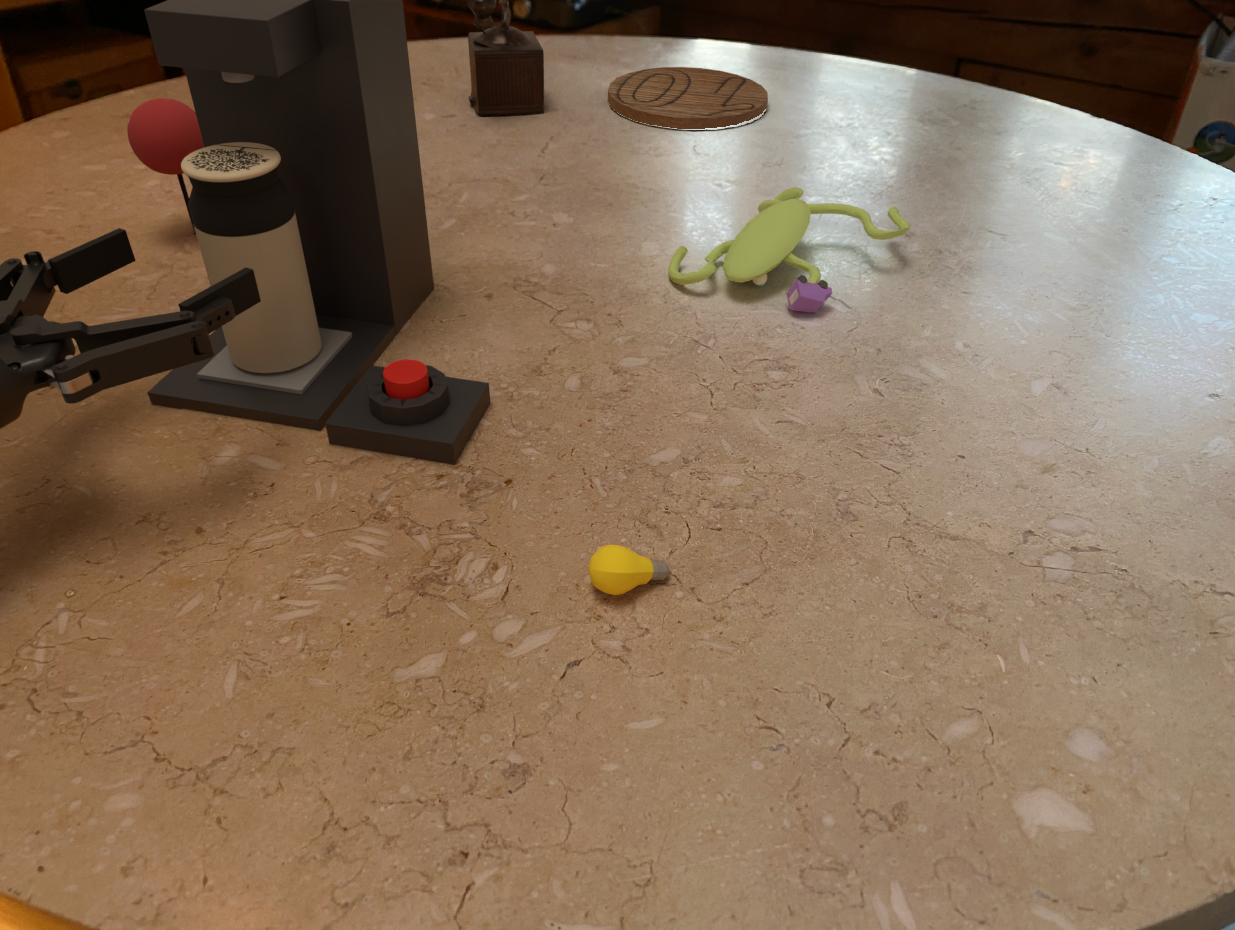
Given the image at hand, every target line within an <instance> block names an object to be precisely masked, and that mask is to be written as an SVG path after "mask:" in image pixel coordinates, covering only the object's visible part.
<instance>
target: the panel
mask: <svg viewBox="0 0 1235 930" xmlns="http://www.w3.org/2000/svg"><path fill="white" fill-rule="evenodd" d="M425 365H426V367H427V370H428V378H429V390H428V392H427V393H425V394H423V395H421V396H419V397H417V398H411V399H404V400H403V399H397V398H391V397H389V396H388V395H387V393H386V390H385V384H384V377H383V371H384V369H385V367H386V366H378V365H373V366H372V365H371V366H370V368H369V369H368V370H367V371H366V373H365V374H364V375H363V376H362V378H361V379H360V380H359V381H358V383H357V384H356V385H355V386H354V388H353V389H352V390H351V391H350V393H349V394H348V395H347V396H346V398H345V399H344V400H343V401H342V403H341V404H340V405H339V406H338V408H337V409H336V410H335V412H334V413H333V414H332V415H331V417H330V418H329V419H328V420H327V422H326V423H325V430H326V434H327V439H328V444H329V445H332V446H339V447H344V448H351V449H357V450H362V451H369V452H375V453H381V454H386V455H392V456H393V455H394V456H400V457H405V458H411V459H412V458H413V459H417V460H424V461H429V462H436V463H443V464H446V465H447V464H448V465H453V466H455V465H456V463H457V462H458V460H459V458H460V457H461V455H462V454H463V451H464V450H465V448H466V446H467V445H468V443H469V442H470V440H471V438H472V436H473V435H474V433H475V431H476V429H477V427H478V425H479V424H480V422H481V420H482V419H483V417H484V416H485V413H486V412H487V410H488V408H489V407H490V406H491V394H490V392H491V391H490V382H485V381H479V380H473V379H472V380H471V379H466V378H458V377H451V376H446V374H445V373H444V372H442V371H441V370H439V369H438V368H436V367H434V366H433V365H429V364H425Z"/></svg>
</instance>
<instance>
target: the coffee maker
mask: <svg viewBox="0 0 1235 930" xmlns="http://www.w3.org/2000/svg"><path fill="white" fill-rule="evenodd" d="M144 14H145V18H146V22H147V25H148V30H149V33H150V36H151V40H152V44H153V47H154V51H155V55H156V59H157V62H158V66H161V67H171V68H178V69H179V68H181V69H183V70H184V72H185V78H186V81H187V85H188V88H189V93H190V96H191V100H192V104H193V110H194V111H195V113H196V116H197V120H198V124H199V128H200V132H201V136H202V140H203V144H204V148H205V147H208V146H212V145H217V144H223V143H233V142H250V143H259V144H264V145H267V146H270V147H272V148H274V149H275V150H277V151H278V152H279V154H280V157H281V161H280V163H279V165H278V170H279V177H280V178H281V180H282V181H283V182H284V183H285V184H286V186H287V187H288V188H289V189H290V191H291V195H292V200H293V205H294V210H295V215H296V219H297V224H298V229H299V234H300V239H301V244H302V249H303V254H304V259H305V264H306V269H307V274H308V278H309V283H310V288H311V293H312V298H313V303H314V308H315V313H316V318H317V323H318V328H319V333H320V337H321V343H322V346H321V349H320V351H319V353H318V354H317V355H316V356H315V357H314V358H313V359H312V360H310V361H309V362H307V363H305V364H303V365H301V366H299V367H296V368H294V369H291V370H288V371H283V372H275V373H256V372H250V371H246V370H243V369H241V368H239V367H237V366H236V365H235V364H234V363H233V362H232V360H231V358H230V354H229V351H228V347H227V343H226V340H225V336H224V333H223V329H222V326H221V327H220V328H218V329H216V330H215V331H213V332H211V333H210V334H209V337H210V341H211V344H212V348H213V351H214V355H213V356H212V357H211V358H209V359H205V360H202V361H199V362H195V363H192V364H189V365H185V366H182V367H179V368H175V369H172V370H169V371H168V373H167V374H165V376H164V377H163V378H161V380H159V381H158V382H157V383H156V384H155V385H154V386H153V387H152V388H150V390H148V391H147V395H148V398H149V401H150V404H152V405H158V406H164V407H170V408H177V409H184V410H190V411H196V412H202V413H208V414H213V415H214V414H215V415H221V416H227V417H233V418H239V419H246V420H252V421H257V422H258V421H259V422H264V423H269V424H270V423H271V424H276V425H283V426H289V427H293V428H295V427H296V428H301V429H307V430H314V431H319V432H320V431H322V430H323V429H324V427H326V425H325V423H326V422H327V420H328V419H329V418H330V417H331V415H332V414H333V413H334V412H335V410H336V409H337V408H338V406H339V405H340V404H341V403H342V401H343V400H344V399H345V398H346V396H347V395H348V394H349V393H350V391H351V390H352V389H353V388H354V386H355V385H356V384H357V383H358V381H359V380H360V379H361V378H362V376H363V375H364V374H365V373H366V371H367V370H368V369H369V368H370V366H371V365H372V366H375V365H374V364H375V363H376V362H377V361H378V360H379V358H380V357H381V356H382V355H383V353H384V352H385V351H386V350H387V348H388V347H389V346H390V344H391V343H393V340H394V339H396V337H397V336H398V334H399V333H400V332H401V331H402V329H403V328H404V327H405V325H407V323H408V322H409V321H410V319H411V318H412V317H413V315H414V314H415V313H416V312H417V310H418V309H419V308H420V307H421V306H422V304H423V303H424V302H425V300H426V299H428V297H429V296H430V294H431V293H432V292H433V291H434V289H435V284H434V283H435V282H434V276H433V265H432V257H431V247H430V240H429V229H428V219H427V210H426V202H425V193H424V184H423V183H424V182H423V176H422V175H423V174H422V165H421V158H420V157H421V156H420V148H419V147H420V145H419V138H418V129H417V120H416V112H415V102H414V94H413V93H414V92H413V83H412V75H411V65H410V56H409V49H408V48H409V47H408V38H407V30H406V20H405V12H404V1H403V0H165V1H162V2H160V3H157V4H154V5H152V6H150V7H147V8H145V9H144Z"/></svg>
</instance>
